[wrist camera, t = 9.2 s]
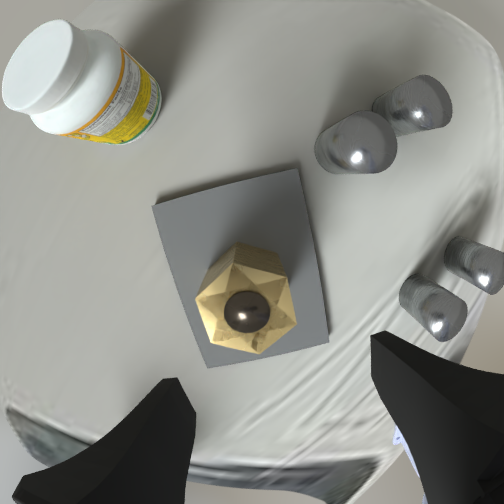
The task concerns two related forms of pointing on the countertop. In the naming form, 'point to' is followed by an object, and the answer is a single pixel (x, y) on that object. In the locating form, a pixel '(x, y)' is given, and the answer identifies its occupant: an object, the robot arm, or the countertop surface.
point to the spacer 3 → (433, 306)
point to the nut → (246, 299)
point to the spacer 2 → (415, 106)
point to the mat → (251, 233)
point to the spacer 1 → (357, 145)
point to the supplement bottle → (81, 85)
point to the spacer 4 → (476, 264)
